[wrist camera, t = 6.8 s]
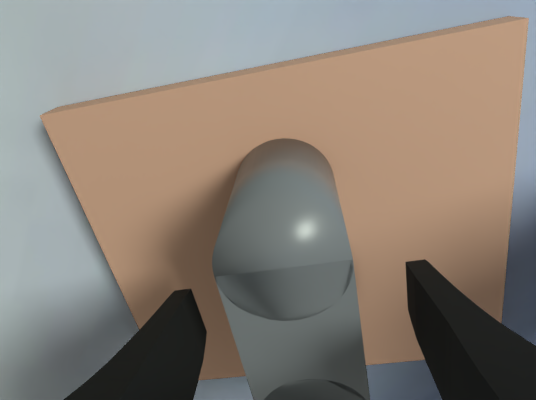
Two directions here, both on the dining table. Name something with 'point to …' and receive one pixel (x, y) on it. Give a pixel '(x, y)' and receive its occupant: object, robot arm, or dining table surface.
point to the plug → (290, 277)
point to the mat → (339, 157)
